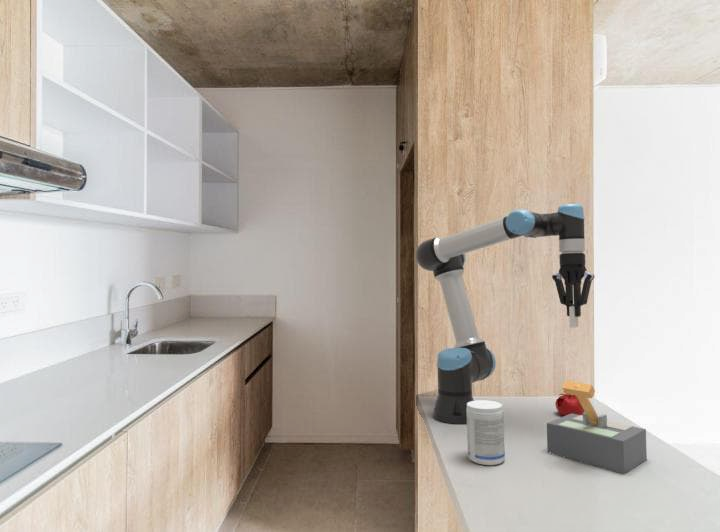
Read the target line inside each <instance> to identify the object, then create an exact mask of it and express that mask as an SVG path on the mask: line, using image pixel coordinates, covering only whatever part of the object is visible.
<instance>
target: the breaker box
mask: <svg viewBox="0 0 720 532" xmlns="http://www.w3.org/2000/svg"><path fill="white" fill-rule="evenodd" d="M607 415H608V414H604V413H603V414H601V415H598V418H599V424H598V425H593V424H592V423H591V422H590V420H589V418H588V417H587V415H586V413H583V415H577V414H572V413H571V414H569V415H566V416H561V417H558V418H556V419H554V420H551V421H549V422H546V446H547V453H549V452H551V453H550V454H552V453H554V454H553V455H556V454H558V455H557V456H559V455H561V456H560V457H563V456H565V457H564V458H566V457H568V458H567V459H569V458H572V459H571V460H573V459H575V460H574V461H576V460H578V461H577V462H580V461H582V462H581V463H583V462H585V463H584V464H587V463H588V465H590V464H591V466H594V465H595V466H594V467H597V466H598V468H601V469H604V468H605V469H604V470H608V471H612V472H615V473H618V474H621V475H625V474H627V473H629V472H630V471H632V470H633V469H635V468H636V467H639V466H640V465H641V464H642V463H644V462H646V461H647V460H648V459H647V458H648V457H647V452H648V451H647V429H646V428H642V427H637V426H633V425H629V424H628V425H627V424H624V423H619V422H614V421H610V420H608V419H607V417H608V416H607Z"/></svg>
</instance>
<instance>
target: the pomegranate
mask: <svg viewBox="0 0 720 532" xmlns="http://www.w3.org/2000/svg"><path fill="white" fill-rule="evenodd" d="M555 408H556V410H557V413H558V414H559V415H560V416H561V417H564V416H566V415H569V414H571V413H572V414H577V415H582V416H583V413H585V411H584V409H583V407H582V405H581V404H580V402H579V400H578V398H577V396H576V395H570V394H565V392H564V391H563V393H560V394H559V396H558V398H557V399H556V400H555Z"/></svg>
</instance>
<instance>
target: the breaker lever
mask: <svg viewBox="0 0 720 532" xmlns="http://www.w3.org/2000/svg"><path fill="white" fill-rule="evenodd" d="M561 388H562V390H563V393H564V392H565V393H564V394H570V395H576V396H577V398H578V400H579V402H580V404H581V405H582V407H583V409H584V411H585V413H586V415H587V417H588V418H589V420H590V422H591V423H592V424H593V425H598V424H599V415H598V414H597V412H596V410H595V407H594V406H593V405H592V402H591V400H590V399H593V397H594V394H595V392H596V390H595V388H594V387H593V385H592V384H589V383H582V382H576V381H570V380H564V383H563V384H562V387H561Z"/></svg>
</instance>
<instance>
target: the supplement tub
mask: <svg viewBox="0 0 720 532" xmlns="http://www.w3.org/2000/svg"><path fill="white" fill-rule="evenodd" d="M466 410H467V411H466V412H467V423H466V435H467V436H466V437H467V457H468V459H469V460H470V461H472V462H474V463H475V464H478V465H479V464H480V465H483V466H495V465H500V464H502V463H503V462H505V459H506V457H505V456H506V452H505V429H504V428H505V425H504V424H505V423H504V410H503V404H502V403H501V402H498V401H494V400H486V399H483V400H481V399H480V400H479V399H478V400H474V401H470V402H468V403H467V409H466Z"/></svg>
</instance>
